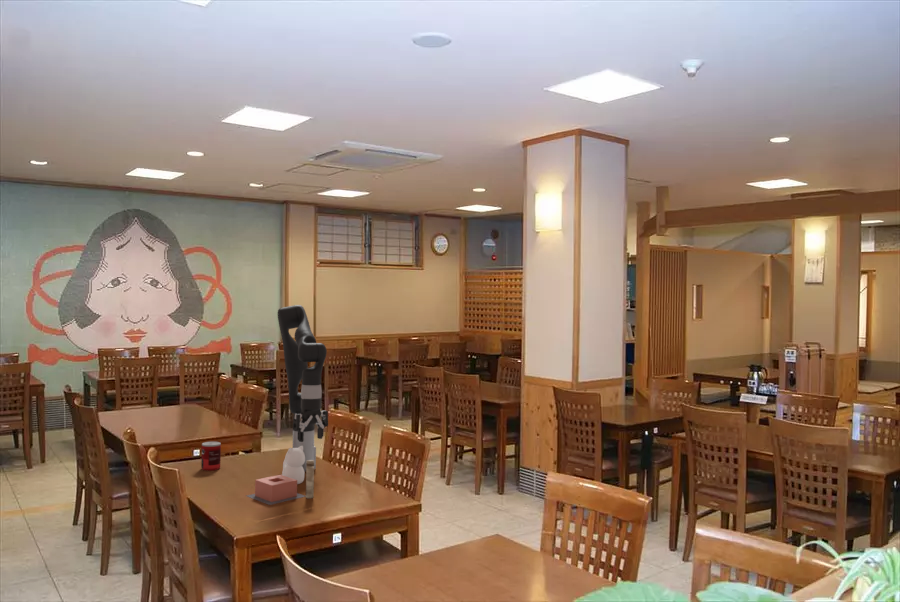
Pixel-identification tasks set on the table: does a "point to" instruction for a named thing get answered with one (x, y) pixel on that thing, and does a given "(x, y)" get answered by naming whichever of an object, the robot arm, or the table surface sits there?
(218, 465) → the canned food
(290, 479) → the pink square peg base
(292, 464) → the cat figurine
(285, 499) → the mat
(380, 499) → the table surface
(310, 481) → the grey beige cylinder
